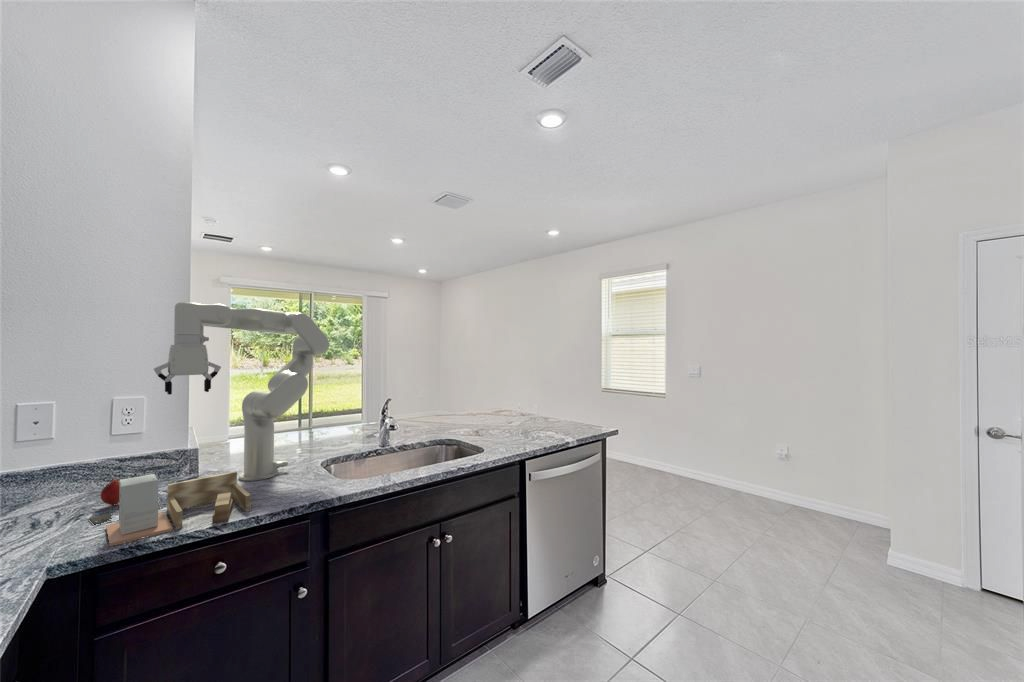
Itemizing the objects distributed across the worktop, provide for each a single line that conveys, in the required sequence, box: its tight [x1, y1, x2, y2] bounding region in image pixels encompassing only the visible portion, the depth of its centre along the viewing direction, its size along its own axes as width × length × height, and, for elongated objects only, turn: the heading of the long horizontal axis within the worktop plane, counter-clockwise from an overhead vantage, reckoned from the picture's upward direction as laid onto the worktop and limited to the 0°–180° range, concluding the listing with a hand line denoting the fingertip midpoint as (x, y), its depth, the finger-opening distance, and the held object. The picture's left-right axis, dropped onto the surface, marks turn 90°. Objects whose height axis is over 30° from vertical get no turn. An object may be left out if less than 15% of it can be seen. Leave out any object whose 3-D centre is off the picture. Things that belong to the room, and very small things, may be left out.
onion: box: [100, 478, 120, 506], centre depth 125 cm, size 6×6×8 cm
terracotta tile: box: [105, 512, 174, 548], centre depth 109 cm, size 12×14×1 cm
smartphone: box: [88, 503, 164, 525], centre depth 119 cm, size 7×1×15 cm
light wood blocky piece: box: [166, 471, 252, 530], centre depth 122 cm, size 17×16×8 cm
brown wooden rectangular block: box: [211, 492, 234, 525], centre depth 119 cm, size 12×4×5 cm, turn 28°
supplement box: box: [118, 473, 159, 535], centre depth 109 cm, size 7×7×13 cm
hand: (188, 392), depth 134 cm, fingers open, 9 cm apart
